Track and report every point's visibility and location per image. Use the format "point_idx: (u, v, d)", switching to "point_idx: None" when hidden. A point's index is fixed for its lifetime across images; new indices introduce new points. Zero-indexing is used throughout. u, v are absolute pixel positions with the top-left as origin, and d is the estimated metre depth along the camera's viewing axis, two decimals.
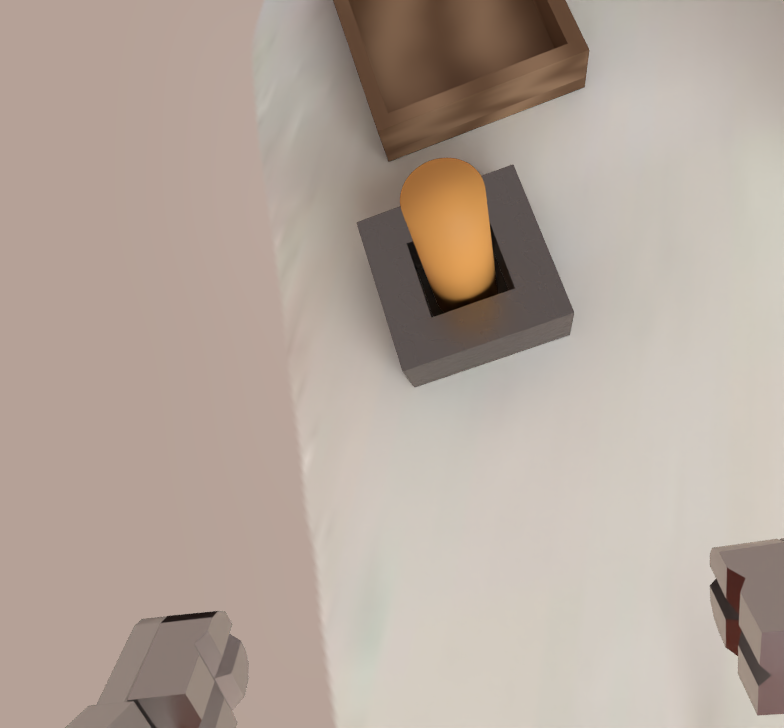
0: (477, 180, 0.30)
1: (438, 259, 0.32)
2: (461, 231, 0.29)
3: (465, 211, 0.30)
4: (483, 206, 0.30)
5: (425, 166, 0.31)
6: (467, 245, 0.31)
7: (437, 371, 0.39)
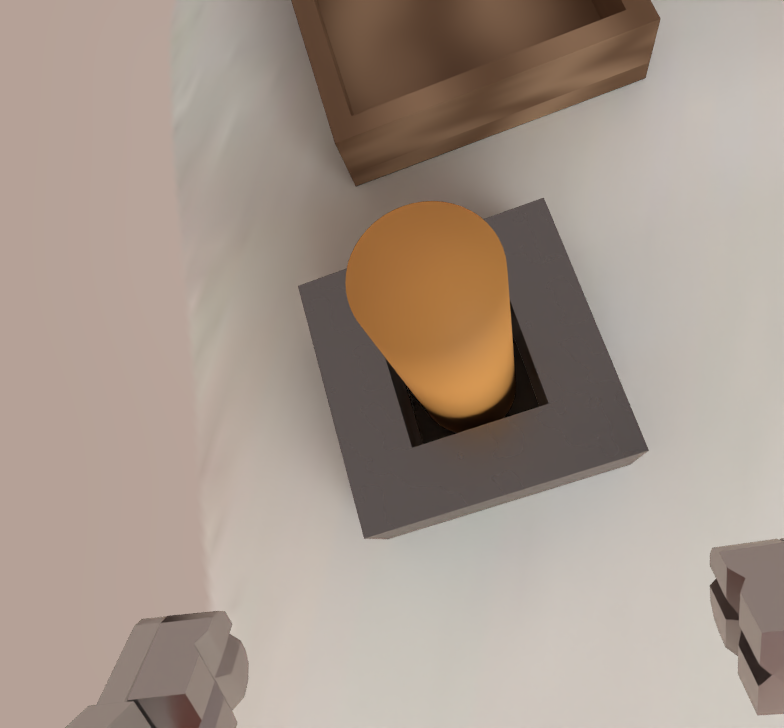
0: (491, 246, 0.16)
1: (419, 379, 0.18)
2: (459, 345, 0.15)
3: (468, 306, 0.15)
4: (503, 297, 0.15)
5: (393, 216, 0.16)
6: (472, 361, 0.17)
7: (422, 525, 0.24)
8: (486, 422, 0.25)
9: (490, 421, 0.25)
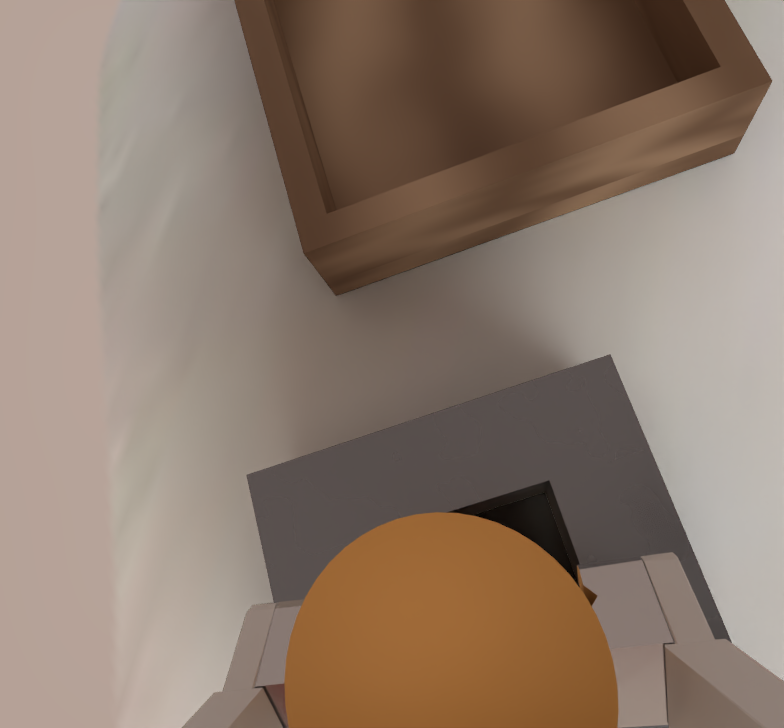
0: (581, 631, 0.08)
1: None
2: None
3: None
4: None
5: (381, 541, 0.08)
6: None
7: None
8: None
9: None
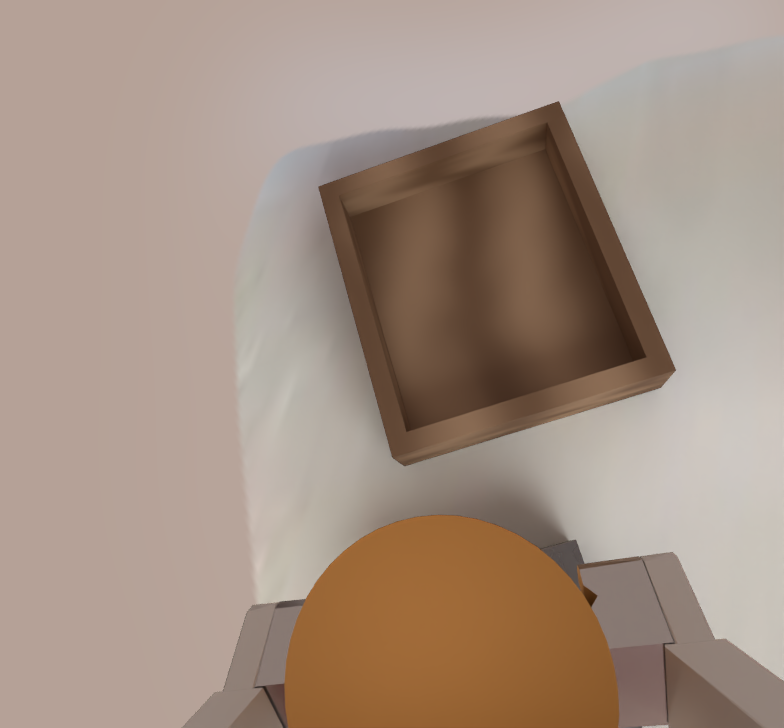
0: (582, 634, 0.08)
1: None
2: None
3: None
4: None
5: (381, 544, 0.08)
6: None
7: None
8: None
9: None
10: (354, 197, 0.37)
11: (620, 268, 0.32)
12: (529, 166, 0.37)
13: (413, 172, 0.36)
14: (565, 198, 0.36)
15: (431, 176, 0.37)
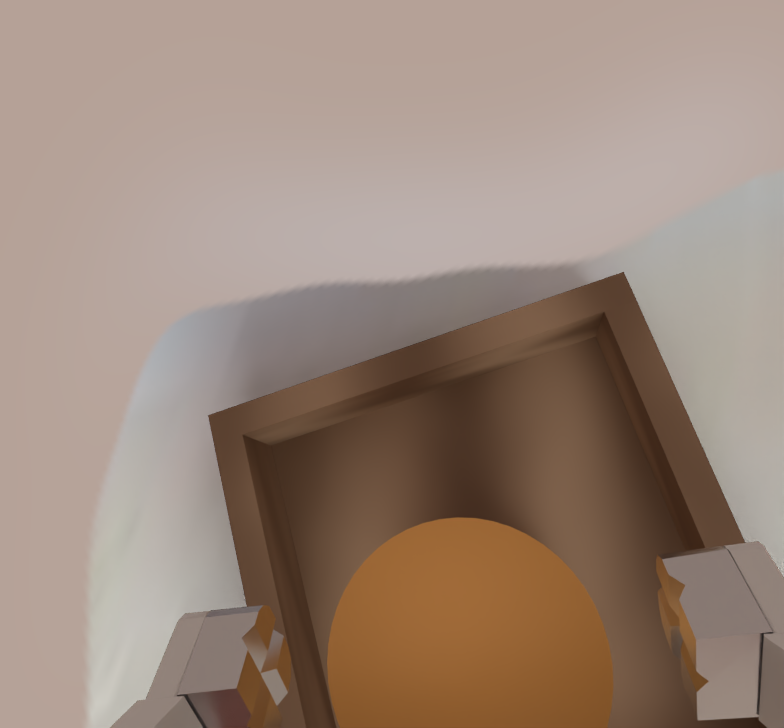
0: (582, 619, 0.09)
1: None
2: None
3: None
4: (605, 722, 0.09)
5: (409, 542, 0.10)
6: None
7: None
8: None
9: None
10: (272, 431, 0.22)
11: None
12: (569, 368, 0.22)
13: (370, 394, 0.21)
14: (635, 432, 0.21)
15: (402, 391, 0.22)
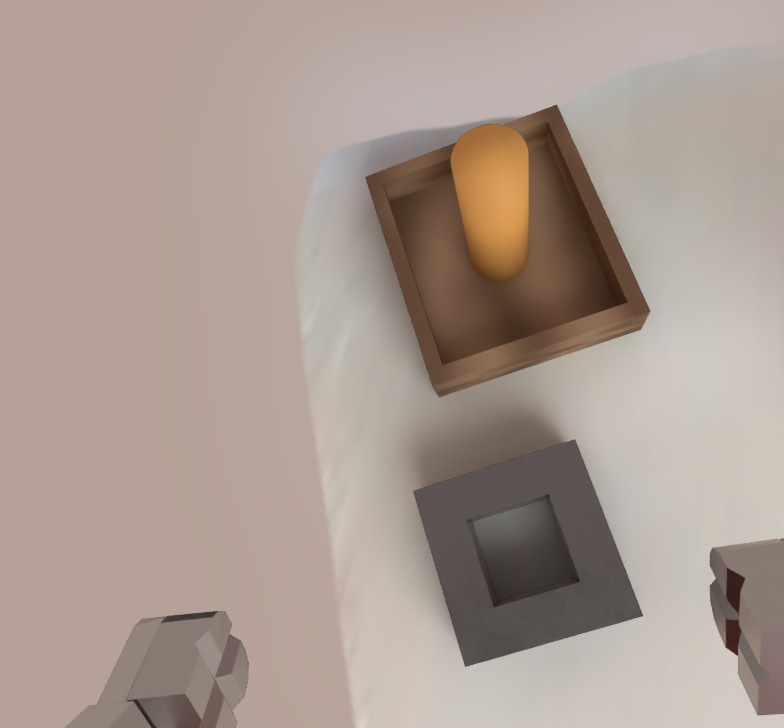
0: (520, 143, 0.33)
1: (483, 217, 0.36)
2: (506, 188, 0.33)
3: (510, 171, 0.33)
4: (526, 166, 0.33)
5: (473, 131, 0.34)
6: (510, 203, 0.35)
7: None
8: (511, 269, 0.43)
9: (514, 270, 0.43)
10: (394, 185, 0.46)
11: (607, 235, 0.41)
12: (534, 157, 0.46)
13: (441, 164, 0.45)
14: (563, 182, 0.45)
15: None
